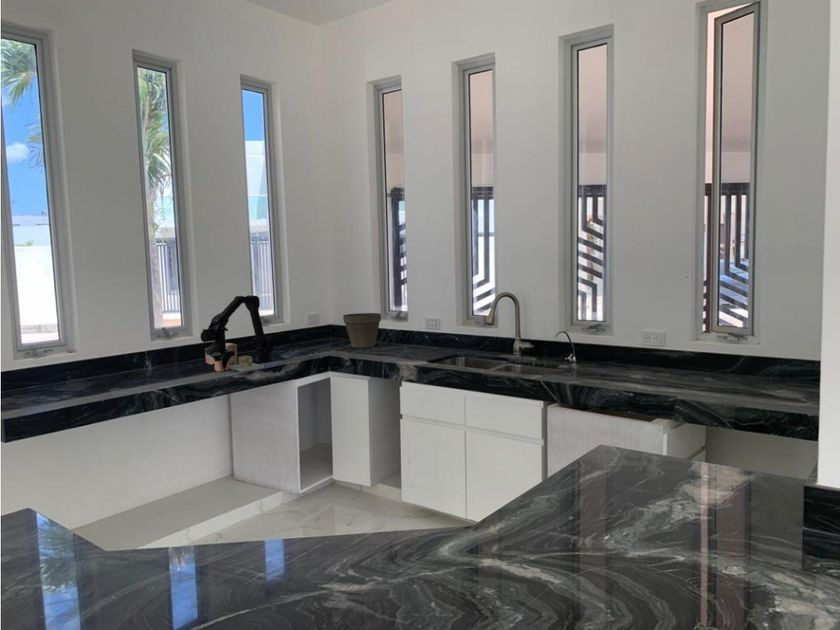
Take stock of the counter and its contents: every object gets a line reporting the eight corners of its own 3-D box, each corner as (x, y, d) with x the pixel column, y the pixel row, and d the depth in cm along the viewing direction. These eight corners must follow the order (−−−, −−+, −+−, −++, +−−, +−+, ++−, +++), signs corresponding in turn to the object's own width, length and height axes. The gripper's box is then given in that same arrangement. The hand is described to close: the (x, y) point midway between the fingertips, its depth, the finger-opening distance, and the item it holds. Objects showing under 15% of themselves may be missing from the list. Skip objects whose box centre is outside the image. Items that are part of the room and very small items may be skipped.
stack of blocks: (205, 364, 386) (204, 342, 385) (214, 362, 391) (213, 341, 390) (228, 366, 374) (227, 345, 372) (238, 365, 379) (236, 343, 377)
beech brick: (246, 364, 369) (246, 355, 368) (252, 365, 365) (251, 356, 365) (239, 366, 365) (238, 357, 364) (244, 366, 362) (243, 357, 361)
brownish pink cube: (222, 369, 365) (222, 360, 364) (228, 370, 362) (227, 361, 361) (214, 370, 361) (214, 361, 361) (220, 371, 358) (219, 362, 357)
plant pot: (344, 345, 450) (343, 313, 448) (381, 343, 453) (379, 311, 451) (344, 350, 425) (343, 316, 423) (383, 348, 428) (381, 315, 426)
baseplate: (249, 365, 375) (249, 362, 375) (264, 367, 366) (264, 365, 366) (227, 369, 365) (227, 366, 364) (242, 371, 355) (242, 368, 355)
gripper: (197, 340, 360) (198, 369, 361) (216, 342, 348) (217, 372, 349) (215, 338, 368) (216, 366, 370) (234, 340, 356) (236, 369, 357)
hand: (221, 368), depth 361 cm, fingers closed on brownish pink cube, 5 cm apart
